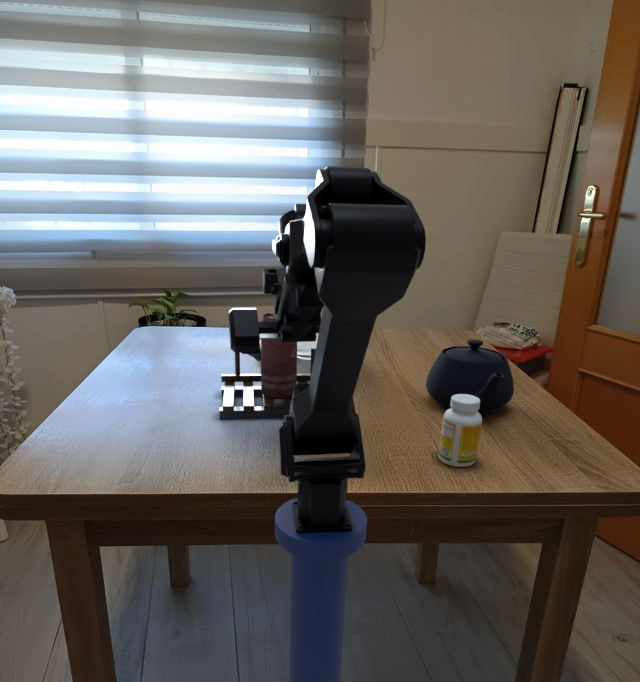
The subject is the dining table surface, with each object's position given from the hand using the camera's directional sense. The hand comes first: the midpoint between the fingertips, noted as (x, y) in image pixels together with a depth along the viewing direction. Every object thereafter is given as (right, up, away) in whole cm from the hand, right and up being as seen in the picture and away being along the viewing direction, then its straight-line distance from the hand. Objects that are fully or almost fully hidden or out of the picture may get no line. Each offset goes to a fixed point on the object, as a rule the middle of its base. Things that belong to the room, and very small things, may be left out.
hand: (288, 357), depth 90 cm
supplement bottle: (+25, -16, -6) cm, 30 cm away
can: (-2, -5, +11) cm, 12 cm away
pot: (+2, +3, +39) cm, 39 cm away
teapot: (+32, -7, +16) cm, 37 cm away
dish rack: (-3, -7, +13) cm, 15 cm away
